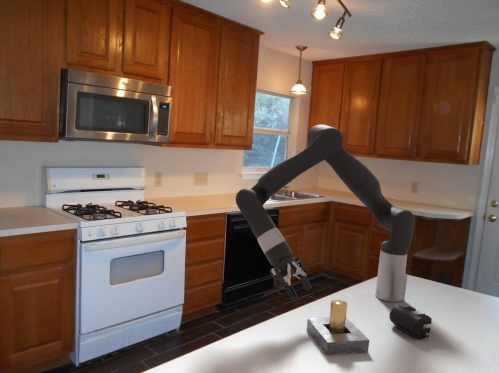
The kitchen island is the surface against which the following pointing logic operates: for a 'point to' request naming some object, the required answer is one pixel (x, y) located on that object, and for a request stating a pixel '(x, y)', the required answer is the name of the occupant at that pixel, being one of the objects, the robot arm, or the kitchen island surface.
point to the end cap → (410, 321)
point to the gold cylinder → (337, 317)
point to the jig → (337, 337)
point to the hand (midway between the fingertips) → (302, 293)
